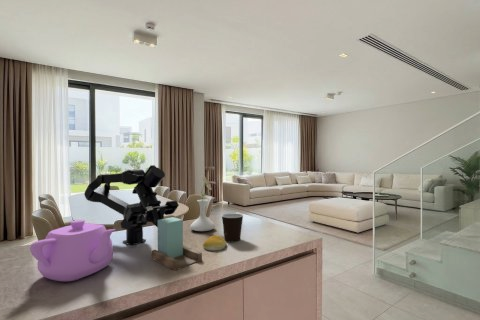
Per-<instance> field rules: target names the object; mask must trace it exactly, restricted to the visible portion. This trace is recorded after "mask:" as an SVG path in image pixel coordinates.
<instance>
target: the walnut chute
mask: <svg viewBox="0 0 480 320" xmlns="http://www.w3.org/2000/svg"><path fill="white" fill-rule="evenodd" d="M150 258H151V259H152V260H154V261H155V262H157V263H159V264H161V265H162V266H165V267H167V268H169V269H171V270H172V271H177V270H179V269H182V268H185V267H188V266H190V265H193V264H194V265H195V264H197V263H199V262H201V261H203V253H202V252H201V251H199V250H196V249H193V248H191V247H188V246H186V245H183V255H181V256H178V257H175V258H172V257H170V256H168V255H166V254H163V253H161V252H159V251H158V249H157V250H156V249H151V251H150Z"/></svg>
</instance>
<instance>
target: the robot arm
mask: <svg viewBox="0 0 480 320" xmlns="http://www.w3.org/2000/svg"><path fill="white" fill-rule="evenodd" d="M165 176H166V174H165V171H164V170H162V169H160V168H159V167H157V166H156V165H150V166H149V167H148V168H147V170H146V171H144V170H143V169H128V170H125V171H123V172H121V173H110V174H109V173H102V174H98V175H97V176H96V178H95V179H94V180H93V181H92V182H91V183H89V184H88V186H87V187H86V189H85V191H84V197H85V199H86V201H89V202H92V203H101V204H103V205H105V206H106V207H108V208H109V209H111V210H113V211H114V212H117V213H118V214H120V215H122V217H123V219H122V220H121V222H120V227H121V229H125V231H126V232H125V234H126V237H125V238H126V239H125V240H122V243H124V244H126V245H130V246H134V245H137V244H138V245H139V244H140V243H141V244H142V243H144V242H147V239H146V238H144V231H143V229H144V226H146V225H147V224H148V223H152V224H153V225H154V226H155V227H156V228H157V229H158V220H160V219H165V216H169V215H173V214H175V212H176V210H177V209H178V207H179V206H180V204H179V203H178V201H177V200H166V202H165V204H164V205H161V203H162V201H161V200H158V197H157V195H158V192H156V191H154V189H153V188H157V186H159V184H160V183H161V181H162V180H163V179H164V178H165ZM111 183H114V184H115V183H122V184H123V185H135V186H134V187H133V190H132V194H133V195H136V194H137V196H138V199H139V202H136V203H132V204H130V203H128V202H126V201H124V200H122V199H121V198H118V197H116V196H114V195H113V194H112V193H110V190H111ZM102 184H103V185H102Z"/></svg>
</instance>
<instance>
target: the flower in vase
mask: <svg viewBox="0 0 480 320" xmlns="http://www.w3.org/2000/svg"><path fill="white" fill-rule="evenodd" d="M201 178H202V181H203V183H204V184H203V187H202V189H201V191H200V193H201V196H200V198H201V199H197V200H196V201H197V202H198V205H199V209H200V210H199V216H198V217H197V218H196V219H195V220H194V221H193V222H192V223H191V224H190V229H191V230H193V231H196V232H208V231H211V230H213V229H214V228H215V227H216V224H215V223H214V222H213V221H212V220H211V219H210V218H208V217H207V215H206V205H207V203H208V200H209V199H204V197H205V196H207V194H206V193H203V190H204V188H205V186H206V188H207V189H209V190H210V191H212V190H213V189H212V185H211V184H210V181H209V180H208V179H207V178H206V176H204V175H202V177H201Z"/></svg>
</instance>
